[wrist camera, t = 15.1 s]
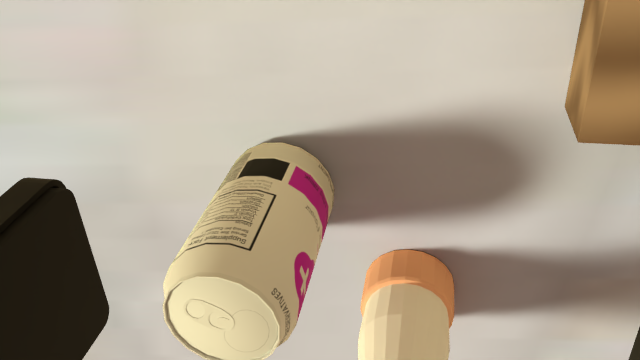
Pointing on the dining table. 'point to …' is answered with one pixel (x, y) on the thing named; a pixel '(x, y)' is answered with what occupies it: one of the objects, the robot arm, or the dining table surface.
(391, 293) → the pepper shaker
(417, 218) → the dining table surface
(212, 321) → the supplement can
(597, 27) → the walnut block
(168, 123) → the dining table surface
